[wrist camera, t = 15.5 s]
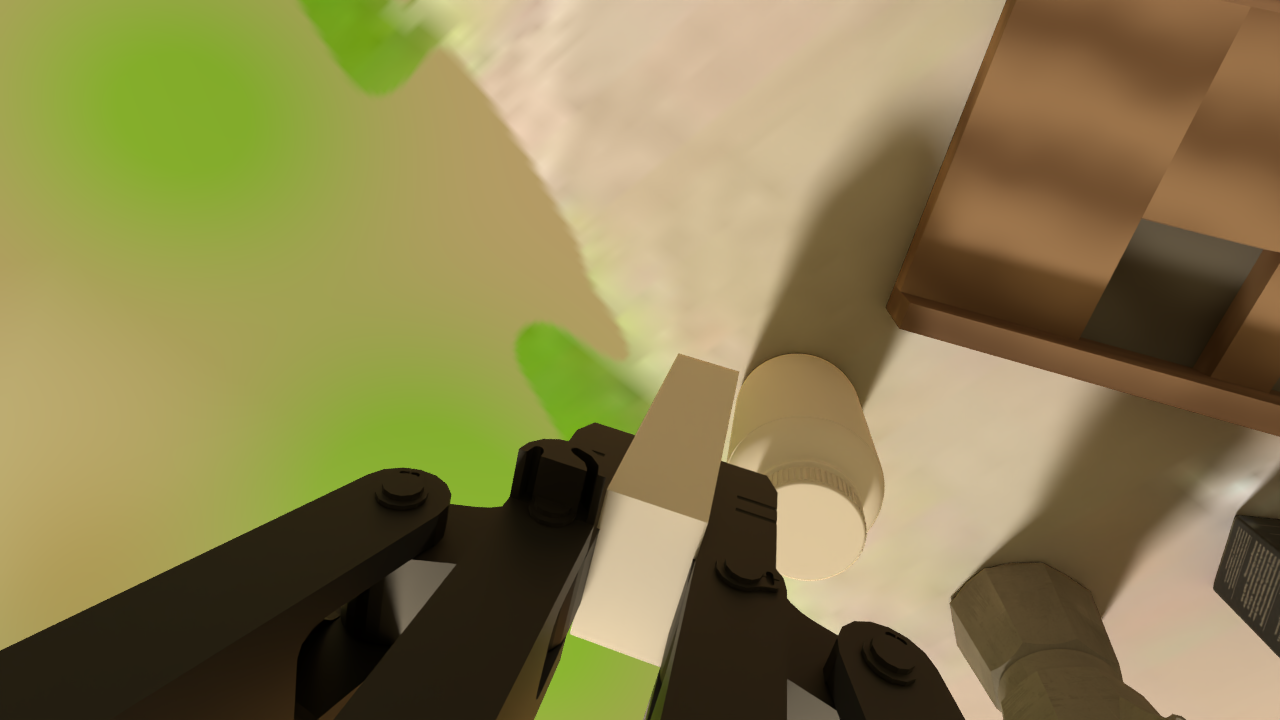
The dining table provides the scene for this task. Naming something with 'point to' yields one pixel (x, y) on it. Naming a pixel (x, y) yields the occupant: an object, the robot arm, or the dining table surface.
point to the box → (1253, 576)
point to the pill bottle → (810, 461)
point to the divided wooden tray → (1116, 204)
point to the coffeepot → (1042, 647)
